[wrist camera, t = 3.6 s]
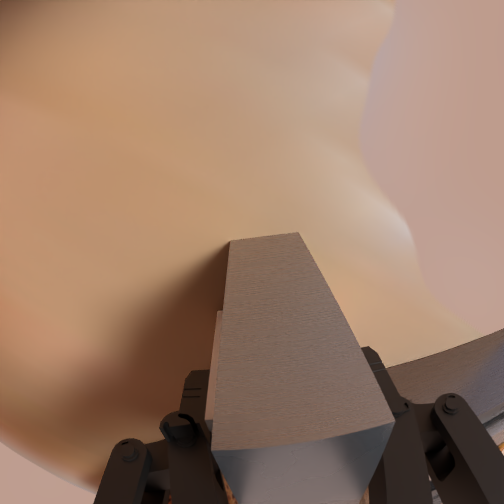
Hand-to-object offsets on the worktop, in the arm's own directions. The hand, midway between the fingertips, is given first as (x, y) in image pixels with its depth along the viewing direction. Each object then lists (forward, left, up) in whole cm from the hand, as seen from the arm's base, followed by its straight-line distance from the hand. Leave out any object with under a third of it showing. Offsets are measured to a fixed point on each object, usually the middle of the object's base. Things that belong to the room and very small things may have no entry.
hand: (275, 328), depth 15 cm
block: (0, 0, 0) cm, 0 cm away
